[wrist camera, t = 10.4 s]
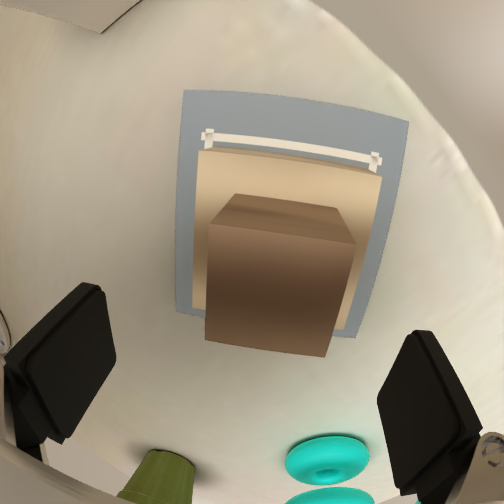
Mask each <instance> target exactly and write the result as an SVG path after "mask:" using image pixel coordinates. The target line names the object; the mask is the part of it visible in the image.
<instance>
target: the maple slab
mask: <svg viewBox="0 0 504 504" xmlns="http://www.w3.org/2000/svg"><path fill="white" fill-rule="evenodd" d="M381 182H382V176H380V175H378V174H376V173H374V172H373V171H371V170H369V169H367V168H365V167H362V166H357V165H352V164H347V163H341V162H336V161H330V160H324V159H318V158H312V157H306V156H299V155H293V154H285V153H278V152H270V151H262V150H253V149H244V148H234V147H223V146H215V147H211V148H207V149H203V150H199V154H198V168H197V183H196V200H195V220H194V246H193V288H192V308H196V309H201V310H206V283H207V261H208V241H209V224H210V222H211V221H212V220H213V219H214V218H215V216H216V215H217V214H218V213H219V212H220V211H221V209H222V208H223V207H224V206H225V205H226V203H227V202H228V201H229V200H230V199H231V198H232V196H233V195H234V194H235V193H237V194H245V195H253V196H261V197H268V198H275V199H283V200H290V201H296V202H303V203H310V204H316V205H322V206H328V207H335V208H337V209H338V211H339V213H340V215H341V216H342V218H343V220H344V222H345V224H346V225H347V227H348V229H349V231H350V233H351V235H352V237H353V238H354V240H355V242H356V244H357V247H356V251H355V255H354V259H353V263H352V267H351V271H350V275H349V278H348V282H347V286H346V290H345V293H344V297H343V300H342V304H341V307H340V311H339V314H338V317H337V321H336V324H335V327H334V329H338V330H343V329H344V326H345V323H346V320H347V317H348V314H349V310H350V307H351V304H352V301H353V297H354V294H355V290H356V287H357V283H358V280H359V276H360V273H361V269H362V265H363V261H364V258H365V254H366V250H367V246H368V242H369V238H370V233H371V229H372V225H373V221H374V216H375V211H376V207H377V202H378V197H379V192H380V187H381Z"/></svg>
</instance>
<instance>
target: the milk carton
mask: <svg viewBox="0 0 504 504" xmlns="http://www.w3.org/2000/svg"><path fill="white" fill-rule="evenodd" d="M139 1H140V0H0V5H1V6H6V7H11V8H16V9H20V10H25V11H29V12H33V13H37V14H40V15H44V16H48V17H51V18H55V19H58V20H61V21H65V22H68V23H71V24H74V25H77V26H80V27H83V28H86V29H89V30H92V31H94V32H97V33H102V32H103V31H104V30H105V29H106V28H107V27H108V26H109V25H111V24H112V23H113V22H114V21H115V20H116V19H118V18H119V17H120V16H121V15H122V14H124V13H125V12H126V11H127V10H128V9H130V8H131V7H132V6H133V5H135V4H136V3H137V2H139Z"/></svg>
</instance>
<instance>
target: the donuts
mask: <svg viewBox="0 0 504 504" xmlns="http://www.w3.org/2000/svg"><path fill="white" fill-rule="evenodd" d="M368 461H369V451H368V449H367V447H366V446H365V445H364V444H363V443H362V442H360V441H358V440H356V439H353V438H349V437H343V436H328V437H320V438H316V439H312V440H309V441H306V442H303V443H301V444H299V445H298V446H296V447H295V448H293V449H292V450H291V451H290V452H289V454H288V455H287V458H286V461H285V466H286V470H287V472H288V473H289V474H290V475H291V476H292V477H293V478H294V479H296V480H298V481H300V482H302V483H306V484H310V485H332V484H337V483H341V482H344V481H347V480H349V479H351V478H353V477H355V476H356V475H358V474H359V473H360V472H361V471H362V470H363V469H364V468H365V467H366V465H367V463H368ZM285 504H375V502H374V500H373V498H372V497H371V495H369V494H368V493H367V492H364V491H362V490H359V489H355V488H347V487H332V488H322V489H316V490H312V491H308V492H305V493H302V494H299V495H297V496H295V497H293V498H291V499H290V500H288V501H287V502H286V503H285Z"/></svg>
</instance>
